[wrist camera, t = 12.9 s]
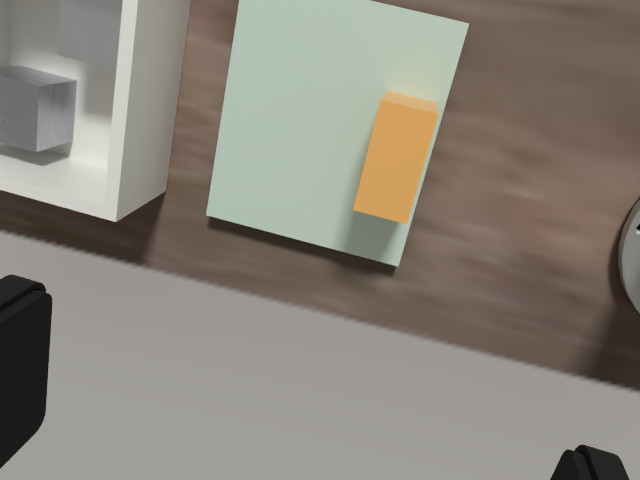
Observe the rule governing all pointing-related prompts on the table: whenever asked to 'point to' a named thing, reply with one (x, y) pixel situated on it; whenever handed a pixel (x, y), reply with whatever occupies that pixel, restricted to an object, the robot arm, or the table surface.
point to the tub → (101, 108)
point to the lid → (332, 120)
